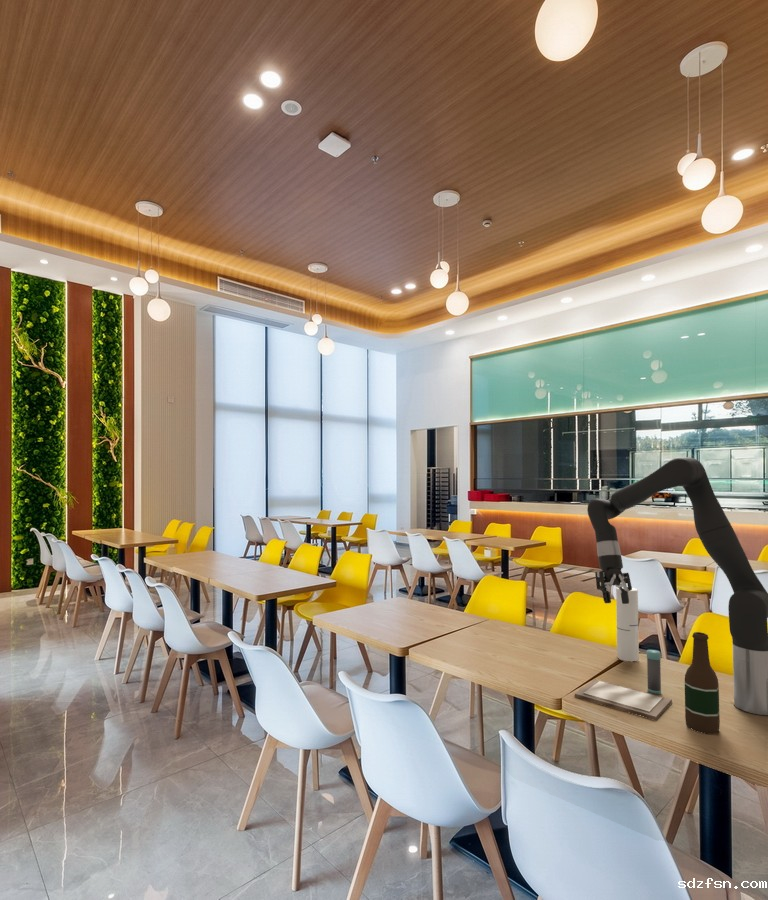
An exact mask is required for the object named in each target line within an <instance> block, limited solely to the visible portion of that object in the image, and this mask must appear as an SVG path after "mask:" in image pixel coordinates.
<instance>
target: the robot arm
mask: <svg viewBox="0 0 768 900" xmlns="http://www.w3.org/2000/svg"><path fill="white" fill-rule="evenodd" d="M676 487H682V488H683V489H684V491H685V492H686V495H687V496H688V499H689V500H690V502H691V505H692V511H693V513H692V514H693V520H694V527H695V531H696V533H697V535H698V537H699V539H700V541H701V544H702V546H703V547H704V549H705V551H706V553H707V554H708V555H709V556H710V558H711V559H712V560H713V561H714V563H715V564H716V565H717V566H718V567H719V568H720V569H721V571H722V572H723V574H724V575H725V576H726V578H727V580H728V582H729V585H730V586H731V589H732V592H733V594H732V595H730V598H729V600H728V606H727V607H728V608H727V609H728V623H729V625H728V626H729V634H730V635H731V640H732V641H731V642H732V669H733V671H732V673H733V674H732V675H733V704H734V706H735V707H736V708H737V709H739V710H741V711H743V712H746V713H750V714H754V715H759V716H768V591H767V590H766V589H765V587H764V585H763V584H762V582H761V581H760V580H759V578H758V576H757V574H756V572H755V571H754V569H753V568H752V566H751V563H750V561H749V558H748V557H747V554H746V553H745V550H744V549H743V546H742V544H741V543H740V540H739V537H738V535H737V534H736V532H735V530H734V528H733V525H732V523H731V522H730V520H729V519H728V517H727V515H726V513H725V511H724V510H723V509H724V508H723V507H722V505H721V504H720V502H719V500H718V498H717V497H716V494H715V492H714V490H713V487H712V485H711V482H710V480H709V477H708V473H707V471H706V469H705V467H704V465H703V464H702V462H700V461H699V459H696V458H694V457H690V456H689V457H685V456H684V457H683V456H681V457H680V456H679V457H674V458H672V459H671V460H669V461H668V462H666V463H664V464H663V465H662V466H660V467H659V468H658V469H656V470H655V471H653V472H652V473H650V474H648V475H647V476H646V477H643V478H642V479H639V480H637V481H635V482H633V483H631V484H629V485H626V486H624V487H622V488H619V489H618V490H616V491H615V492H613V493H612V495H611V496H610V498H609V499H601V498H593V499H590V501H589V502H588V504H587V509H586V510H587V515H588V519H589V521H590V523H591V526H592V527H593V530H594V534H595V541H596V551H597V559H598V566H599V571H595V573H594V574H595V582H596V583H595V585H596V590H598V591H600V592H601V593H602V599H603V602H604V604H611V603H612V598H611V592H610V589H611V587H612V586H615V587H617V588H619V590H620V591H621V592H622V593H621V599H622V603H623V604H628V603H629V598H628V592H629V591H630V590H632V588H633V587H632V582H631V577H630V574H629V572H622V569H623V568H624V565H623V564H624V563H623V557H622V553H621V547H620V544H619V541H618V540H619V539H618V538H619V537H618V533H617V528H616V527H615V526H614V525H613V524H611V523H610V521H609V520H612V519H614V518H616V517H618V516H619V515H621V514H623V512H625V511H626V510H629V509H631V508H633V507H635V506H638V505H639V504H642V503H644V502H645V501H647V500H649V499H650V498H651V497H652V496H654V495H655V494H658V493H660V492H663V491H665V490H668V489H672V488H676ZM622 587H623V588H622Z"/></svg>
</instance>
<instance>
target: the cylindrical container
mask: <svg viewBox="0 0 768 900" xmlns="http://www.w3.org/2000/svg"><path fill="white" fill-rule="evenodd" d="M615 587H616V586H615ZM622 588H623V587H622ZM615 591H616V592H615V593H616V594H615V595H616V596H615V597H616V599H615V600H616V603H615V604H616V605H615V606H616V608H615V609H616V657H618V658H619V659H618V658H617V659H618V660H621V661H624V662H628V661H637V662H639V661H640V657H639V655H640V653H639V652H640V651H639V649H640V648H639V647H640V646H639V644H640V643H639V594H638V593H639V590H638V589H637V588H636V587H632V590H630V591H629V592H628V598H629V603H628V604H623V603H622V599H621V593H622V592H621V591H620V590H619V588H617V587H616V588H615ZM638 660H639V661H638Z"/></svg>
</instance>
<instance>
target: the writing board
mask: <svg viewBox="0 0 768 900" xmlns="http://www.w3.org/2000/svg"><path fill="white" fill-rule="evenodd" d="M574 698H577V699H580V700H584V701H587V702H590V703H593V704H597V703H598V704H597V705H601V704H602V705H601V706H604V705H605V707H607V706H608V708H611V707H612V709H614V710H618V711H621V710H622V711H621V712H625V711H626V713H628V712H630V713H629V714H632V713H633V714H632V715H635V714H637V715H636V716H638V715H641V716H640V717H642V716H644V717H643V718H645V717H647V718H646V719H649V718H650V719H649V720H652V719H653V721H657V720H658V719H659V718H660V717H661V716H662V715H663V713H664V712H665V711H666V710H667V709H668V708H669V707H670V706H671V704H672V703H673V699H672V698H670V697H665V696H660V695H659V694H652V693H649V692H646V691H642V690H639V689H634V688H630V687H628V686H627V687H626V686H623V685H619V684H615V683H611V682H607V681H604V680H599V679H596V678H594V679H593V680H592V681H590V682H588V683H587V684H586V685H585V686H583V687H582V688H580V689H579V690H578V691H576V692H575V693H574ZM660 715H661V716H660Z"/></svg>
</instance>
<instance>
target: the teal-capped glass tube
mask: <svg viewBox="0 0 768 900" xmlns="http://www.w3.org/2000/svg"><path fill="white" fill-rule="evenodd" d="M661 653H662V652H661V651H659V650H657V649H646V664H647V665H646V668H647V669H646V674H647V679H646V680H647V693H649V692H650V694H652V693H653V694H654V695H661V694H662V681H661V680H662V679H661V678H662V673H661V659H662V656H661V655H662V654H661Z"/></svg>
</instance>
